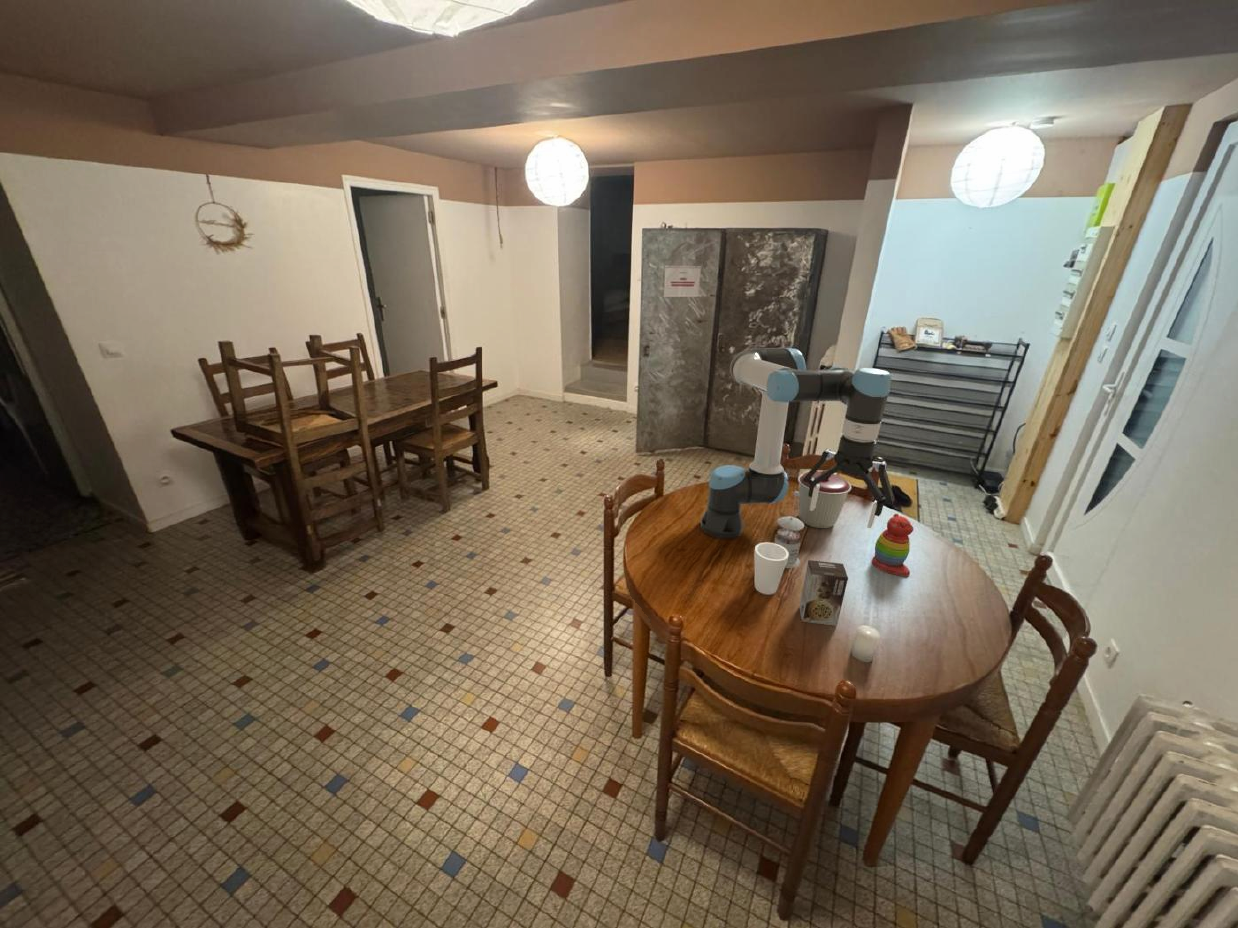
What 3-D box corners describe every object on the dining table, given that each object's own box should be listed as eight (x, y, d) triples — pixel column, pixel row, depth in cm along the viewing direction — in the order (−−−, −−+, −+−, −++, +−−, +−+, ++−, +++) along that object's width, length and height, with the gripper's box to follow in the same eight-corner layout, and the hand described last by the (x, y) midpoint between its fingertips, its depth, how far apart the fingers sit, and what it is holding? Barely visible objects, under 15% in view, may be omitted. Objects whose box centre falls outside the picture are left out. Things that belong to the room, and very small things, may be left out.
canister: (809, 536, 166) (820, 483, 158) (781, 512, 183) (790, 463, 174) (852, 531, 170) (865, 478, 162) (822, 507, 186) (832, 459, 178)
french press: (765, 562, 152) (777, 494, 142) (772, 545, 161) (783, 479, 151) (797, 571, 148) (811, 501, 138) (802, 552, 157) (816, 486, 147)
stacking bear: (911, 577, 145) (927, 528, 138) (876, 573, 147) (890, 524, 140) (899, 557, 155) (913, 511, 148) (866, 554, 157) (879, 507, 150)
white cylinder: (848, 655, 116) (854, 633, 113) (853, 643, 120) (859, 622, 117) (870, 665, 113) (877, 643, 111) (875, 652, 117) (881, 631, 114)
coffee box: (832, 610, 131) (844, 563, 125) (837, 627, 125) (849, 577, 119) (798, 606, 133) (808, 558, 126) (801, 621, 127) (812, 573, 120)
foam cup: (745, 578, 144) (750, 542, 139) (774, 577, 145) (780, 541, 140) (756, 598, 135) (762, 561, 130) (786, 597, 136) (794, 560, 131)
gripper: (799, 429, 112) (785, 507, 121) (918, 454, 98) (893, 540, 107) (809, 422, 118) (795, 497, 126) (923, 444, 104) (899, 527, 112)
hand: (840, 517), depth 116 cm, fingers open, 13 cm apart
